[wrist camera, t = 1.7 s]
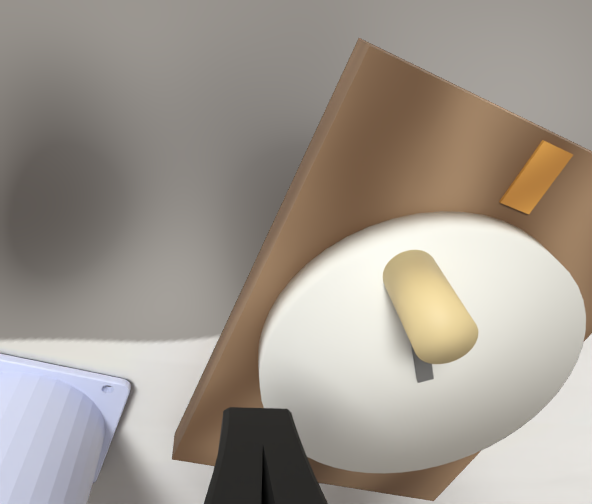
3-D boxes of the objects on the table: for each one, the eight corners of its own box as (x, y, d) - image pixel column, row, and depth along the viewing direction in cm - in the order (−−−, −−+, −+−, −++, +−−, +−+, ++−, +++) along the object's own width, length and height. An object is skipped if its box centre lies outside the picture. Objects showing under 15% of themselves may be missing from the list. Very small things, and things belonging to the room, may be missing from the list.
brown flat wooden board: (174, 434, 26) (171, 461, 24) (359, 37, 16) (370, 46, 15) (425, 478, 30) (434, 502, 29) (679, 193, 21) (710, 211, 20)
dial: (556, 407, 26) (622, 500, 21) (300, 473, 26) (313, 577, 22) (576, 168, 18) (684, 238, 14) (213, 267, 18) (208, 365, 14)
